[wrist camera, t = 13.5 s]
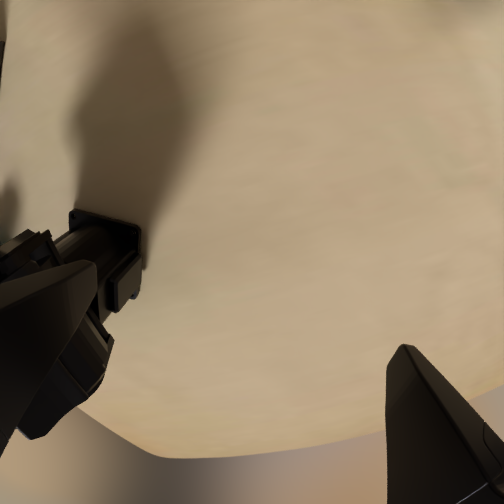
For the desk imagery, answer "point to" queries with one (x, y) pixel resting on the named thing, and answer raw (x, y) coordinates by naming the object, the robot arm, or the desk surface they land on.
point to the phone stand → (1, 51)
